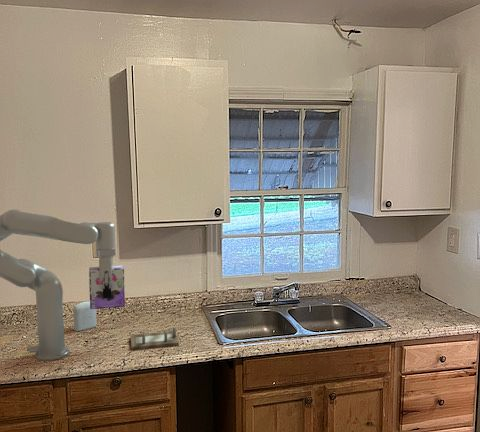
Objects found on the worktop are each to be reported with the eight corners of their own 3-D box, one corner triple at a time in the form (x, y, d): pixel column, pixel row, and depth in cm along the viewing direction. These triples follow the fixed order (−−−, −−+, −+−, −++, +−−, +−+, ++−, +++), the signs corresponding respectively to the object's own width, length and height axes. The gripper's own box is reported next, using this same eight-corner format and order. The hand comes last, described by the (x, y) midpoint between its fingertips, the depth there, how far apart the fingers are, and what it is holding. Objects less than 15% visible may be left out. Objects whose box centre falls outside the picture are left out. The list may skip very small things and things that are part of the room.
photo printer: (93, 324, 228) (92, 298, 227) (98, 326, 225) (97, 300, 224) (72, 330, 221) (71, 303, 220) (77, 332, 218) (75, 305, 216)
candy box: (89, 309, 197) (88, 269, 195) (90, 305, 202) (89, 266, 201) (125, 307, 200) (124, 267, 199) (124, 303, 206) (123, 264, 204)
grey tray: (131, 350, 197) (131, 337, 196) (130, 337, 210) (130, 326, 210) (178, 345, 202) (178, 333, 201) (174, 333, 215) (174, 322, 214)
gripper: (97, 249, 206) (98, 291, 208) (95, 257, 190) (97, 302, 192) (115, 248, 208) (116, 290, 210) (115, 256, 192) (116, 301, 194)
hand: (107, 295), depth 201 cm, fingers closed on candy box, 5 cm apart
